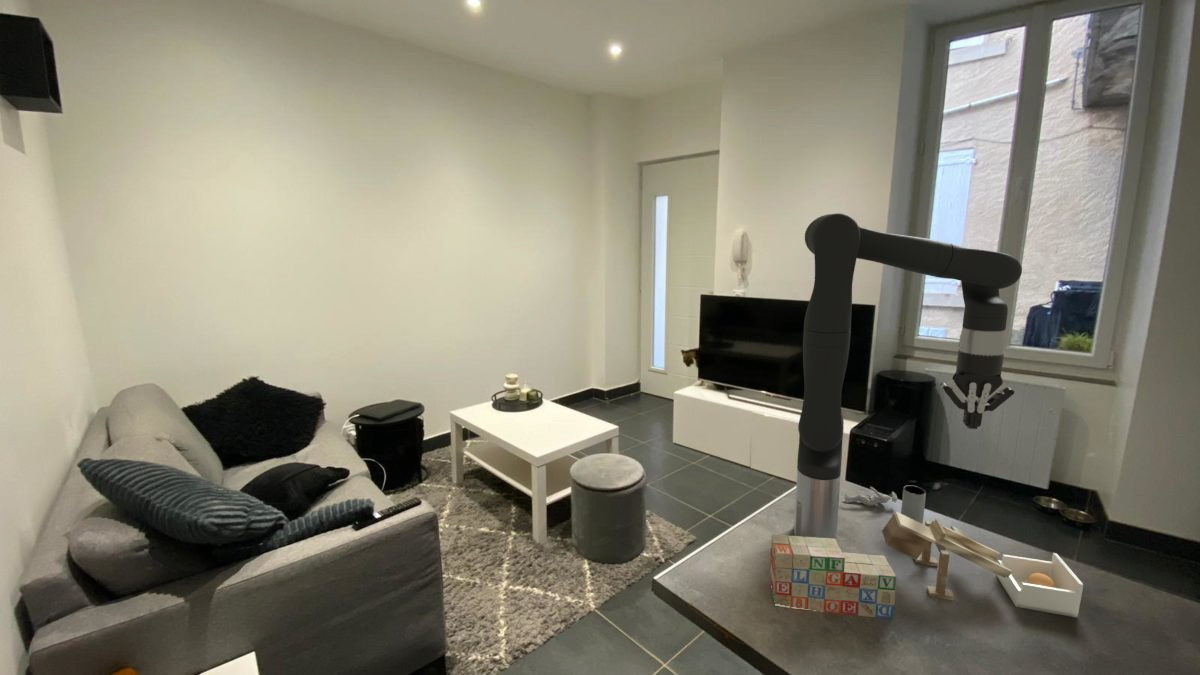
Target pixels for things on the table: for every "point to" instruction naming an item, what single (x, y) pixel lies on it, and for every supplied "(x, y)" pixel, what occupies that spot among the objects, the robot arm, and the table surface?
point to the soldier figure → (871, 498)
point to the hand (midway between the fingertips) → (971, 427)
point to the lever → (939, 542)
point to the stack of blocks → (830, 578)
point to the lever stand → (942, 571)
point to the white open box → (1042, 597)
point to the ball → (1040, 580)
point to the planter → (913, 503)
